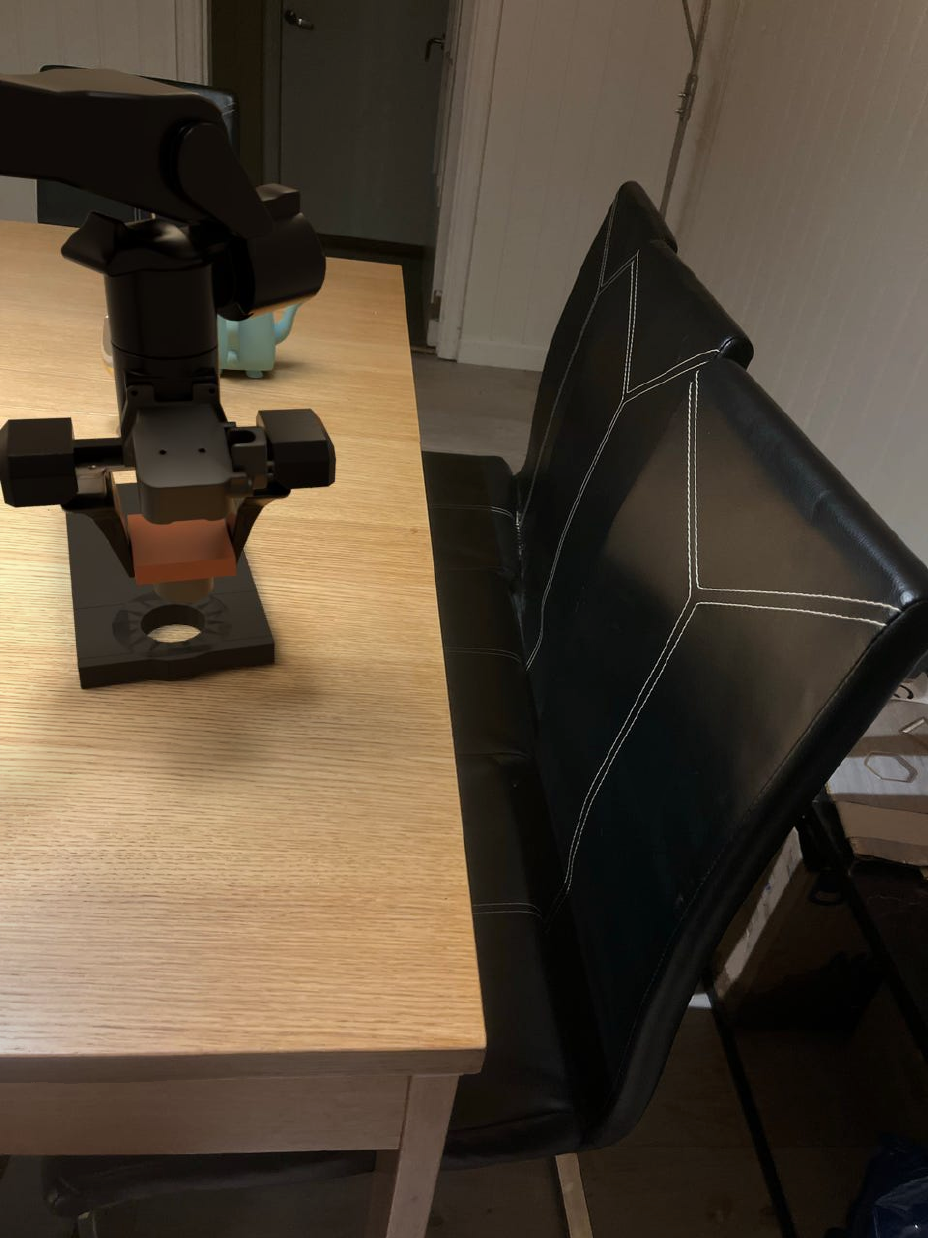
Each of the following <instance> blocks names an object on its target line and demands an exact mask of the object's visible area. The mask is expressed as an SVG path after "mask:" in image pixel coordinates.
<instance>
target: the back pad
mask: <svg viewBox="0 0 928 1238" xmlns="http://www.w3.org/2000/svg"><path fill="white" fill-rule="evenodd" d="M116 487H117V491H118V495H119V499H120V503H121V506H122V510H123V514H124V518H125V522H126V525H127V529H128V533H129V527H128V518H127V515H136V514H141V509H140V501H139V494H138V487H137V481H136V482H122V483H121V482H120V483H116ZM64 513H65V525H66V537H67V549H68V563H69V572H70V573H69V575H70V586H71V599H72V610H73V624H74V636H75V647H76V659H77V660H76V661H77V670H78V671H77V672H78V678H79V683H80V688H81V689H89V688H96V687H104V686H111V685H121V684H127V683H133V682H134V683H135V682H141V681H148V680H149V681H150V680H159V681H168V682H169V681H170V682H173V681H179V680H187V679H194V678H198V677H199V676H202V675H203V674H206V673H208V672H216V671H217V672H218V671H224V670H231V669H239V668H245V667H247V668H248V667H253V666H254V667H255V666H259V665H268V664H269V665H270V664H274V663H276V653H275V652H276V642H275V639H274V636H273V633H272V629H271V627H270V624H269V622H268V618H267V615H266V612H265V610H264V606H263V604H262V600H261V597H260V594H259V592H258V588H257V585H256V582H255V579H254V576H253V574H252V570H251V567H250V563H249V562H248V559H247V555H246V551H245V550H244V549H245V548H244V549H243V551H242V554H241V556H240V559H239V561H238V564H237V566H236V575H235V576H225V577H215V578H213V584H214V585H213V589H212V591H211V593H210V594H209V595H208V596H206V597H205V598H203V599H201V600H198V601H195V602H190V603H174V602H169V601H166V600H164V599H162V598H161V597H159V596H158V595H157V594H156V592H155V590H154V583H153V584H143V585H137V584H136V577H135V578H129V577H128V575H127V573H126V571H125V570H124V568H123V566H122V565H121V563H120V561H119V559H118V558H117V556H116V554H115V553H114V551H113V549H112V547H111V546H110V544H109V542H108V541H107V539H106V537H105V536H104V534H103V533H102V532H101V530H100V529H99V528H98V527H97V526H96V524H95V523H94V522H93V521H92V520H91V519H90V518H88V517H87V516H85V515H83V514H79V513H75V514H69V513H66V512H64ZM224 520H225V523H226V518H224ZM129 537H130V535H129ZM175 624H179V625H186V626H187V625H188V626H191V627H193V628H196V629H198V630H199V631H200V632H199V633H197V635H195V636H193V637H191V638H188V639H185V640H180V641H172V642H170V641H163V640H161V641H160V640H157V639H155V638H153V637H150V636H148V634H150V633H151V632H152V631H154V630H156V629H158V628H160V627H162V626H166V625H175Z"/></svg>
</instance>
